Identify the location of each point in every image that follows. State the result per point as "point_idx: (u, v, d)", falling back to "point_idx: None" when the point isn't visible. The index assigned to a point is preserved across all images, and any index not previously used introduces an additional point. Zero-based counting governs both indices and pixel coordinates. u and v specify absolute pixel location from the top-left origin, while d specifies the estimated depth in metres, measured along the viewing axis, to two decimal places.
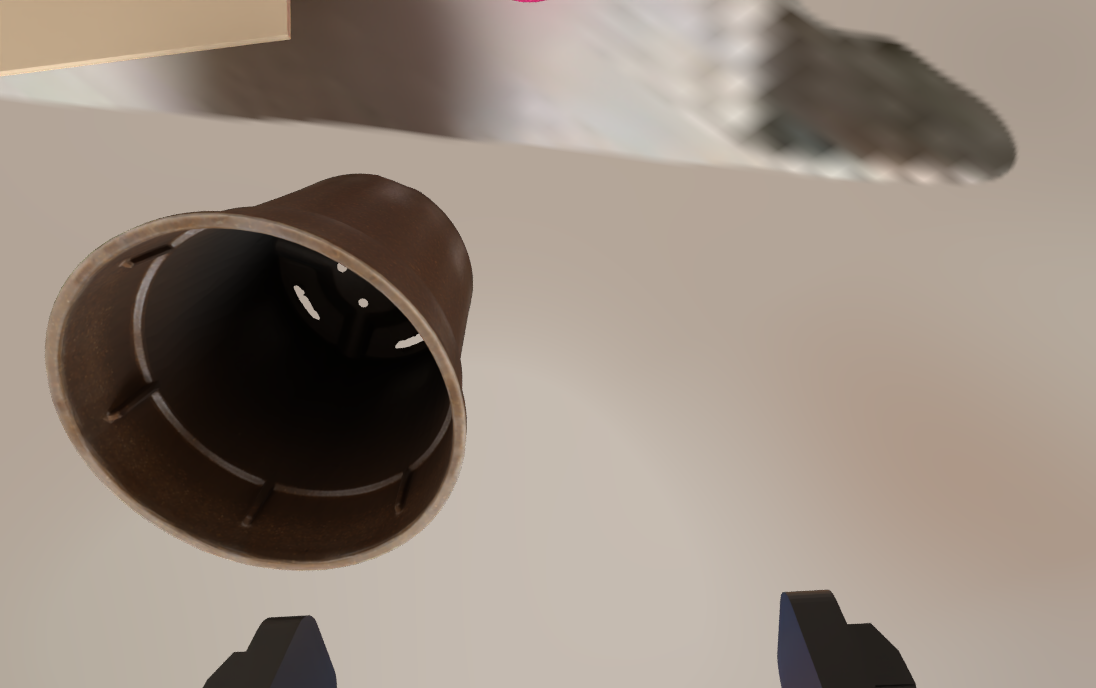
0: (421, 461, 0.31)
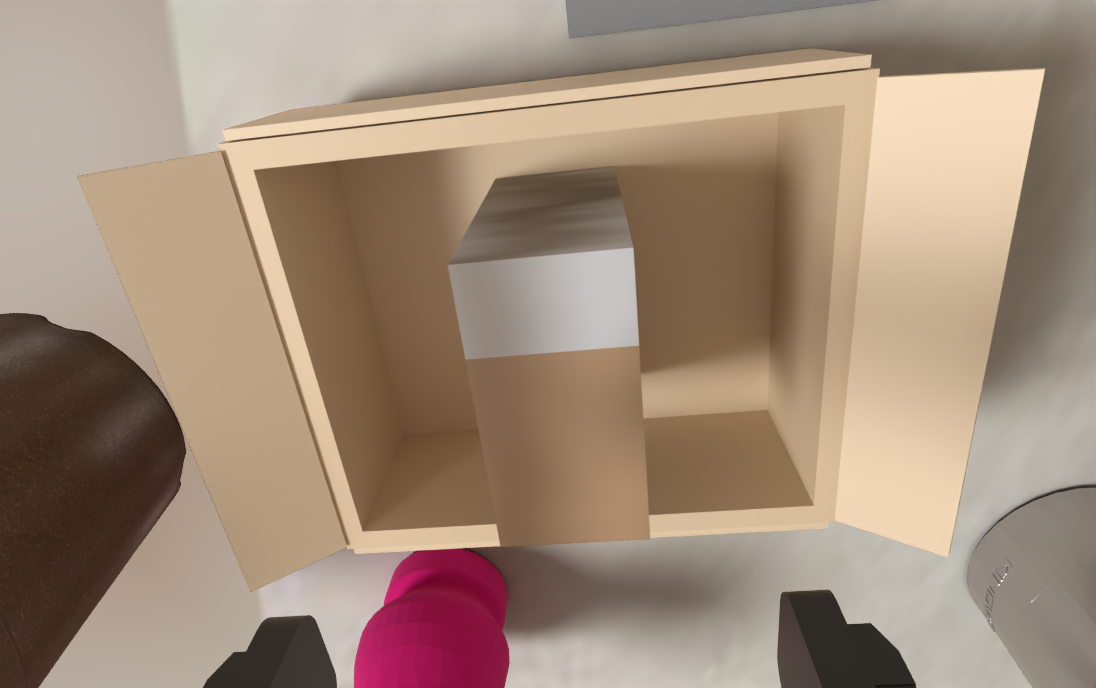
0: None
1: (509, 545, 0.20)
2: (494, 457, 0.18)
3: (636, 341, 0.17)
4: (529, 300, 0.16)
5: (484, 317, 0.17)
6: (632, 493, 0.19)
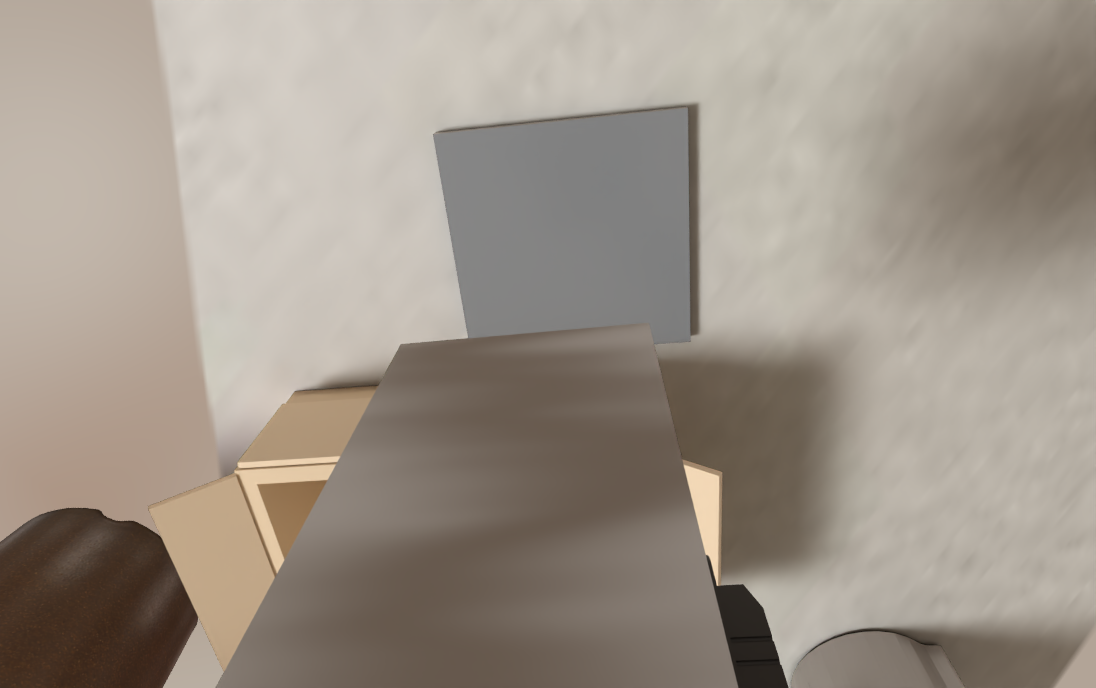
0: None
1: None
2: None
3: None
4: None
5: None
6: None
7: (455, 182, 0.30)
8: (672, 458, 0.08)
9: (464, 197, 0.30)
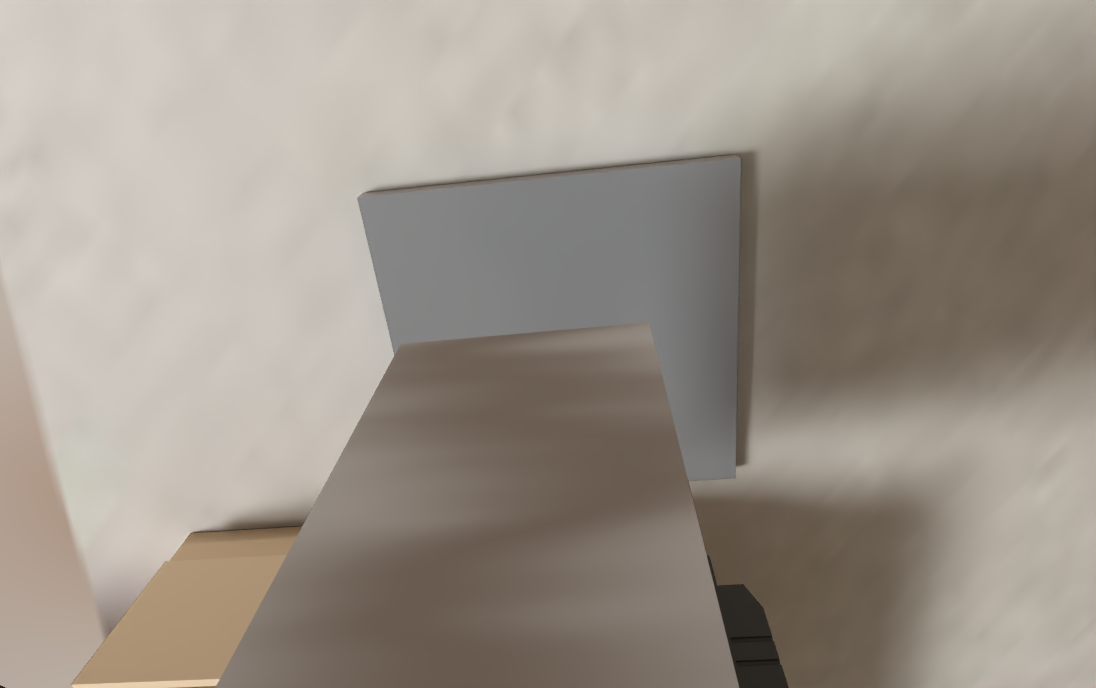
0: None
1: None
2: None
3: None
4: None
5: None
6: None
7: (393, 265, 0.20)
8: (673, 458, 0.08)
9: (408, 286, 0.20)
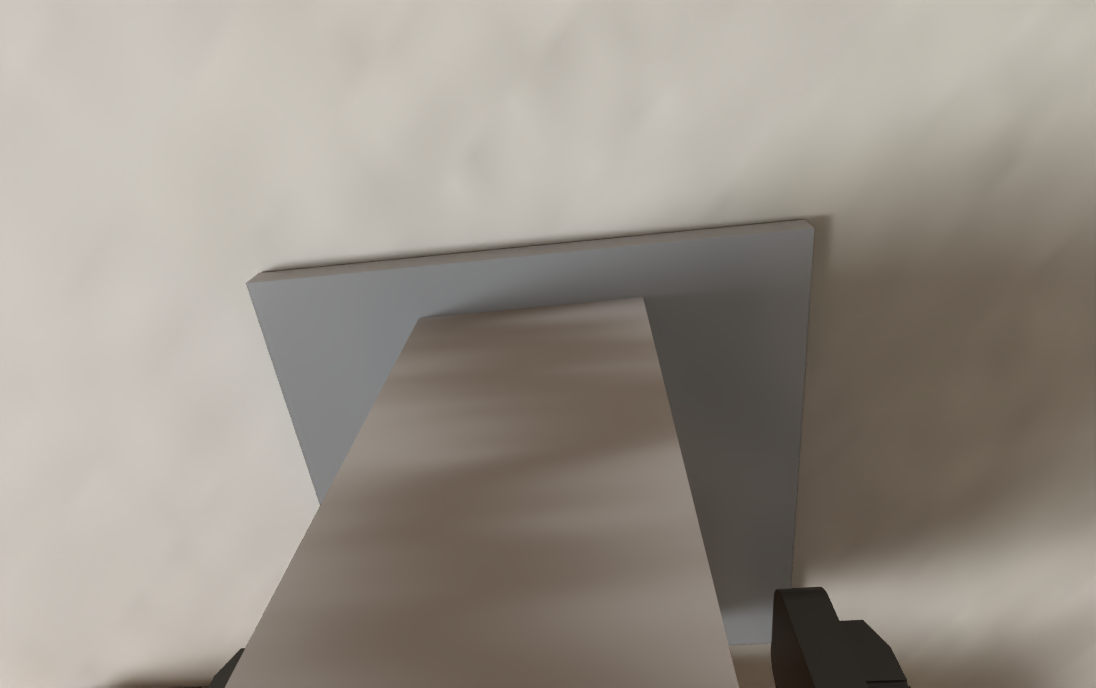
0: None
1: None
2: None
3: None
4: None
5: None
6: None
7: (306, 375, 0.14)
8: (661, 404, 0.09)
9: (329, 402, 0.14)
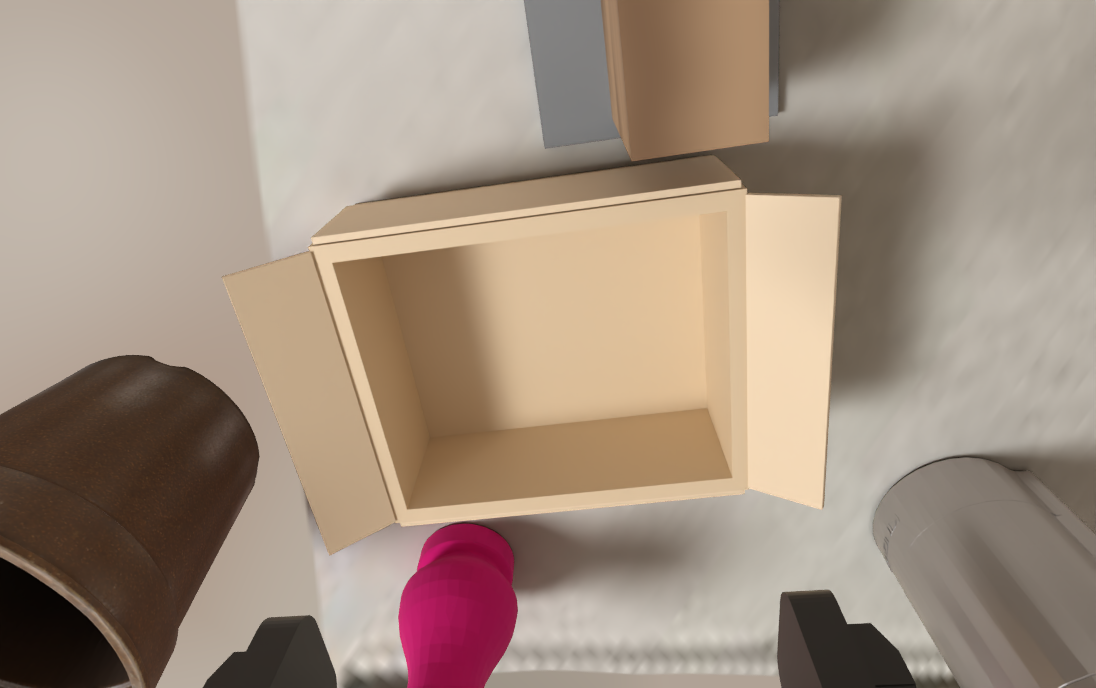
0: None
1: None
2: (632, 53, 0.20)
3: None
4: None
5: None
6: (754, 88, 0.21)
7: None
8: None
9: None
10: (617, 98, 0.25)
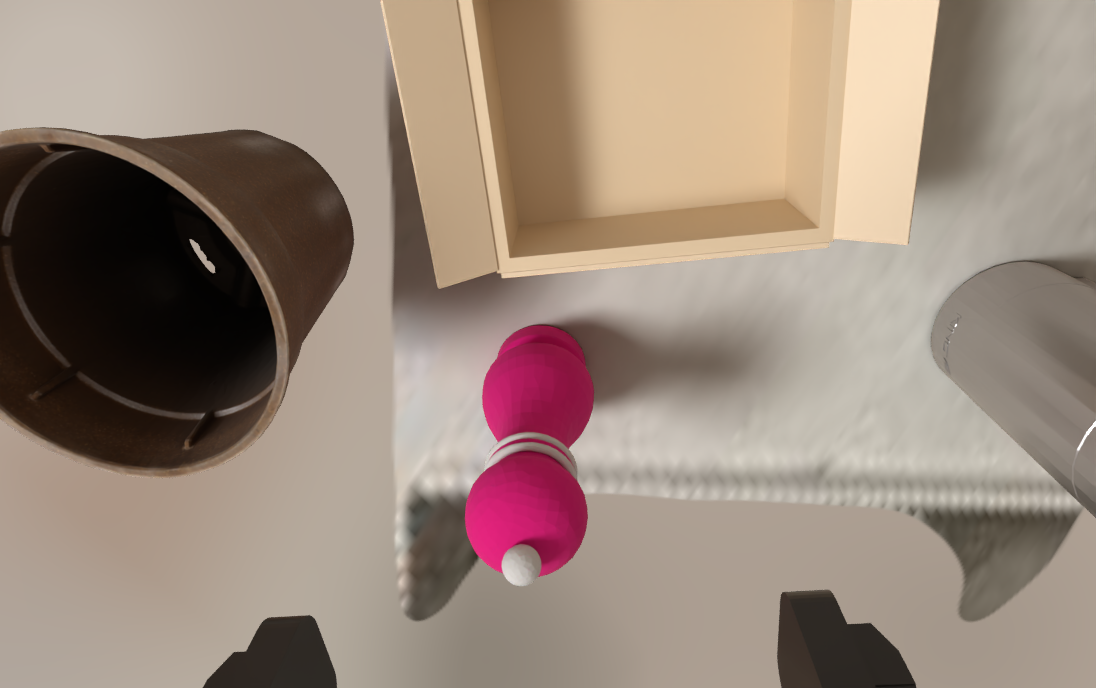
0: (89, 383, 0.34)
1: None
2: None
3: None
4: None
5: None
6: None
7: None
8: None
9: None
10: None
